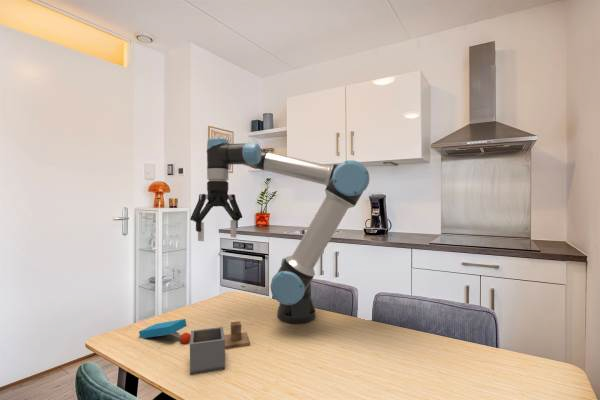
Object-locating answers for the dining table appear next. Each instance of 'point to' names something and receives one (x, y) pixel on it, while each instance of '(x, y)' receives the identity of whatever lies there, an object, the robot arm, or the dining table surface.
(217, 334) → the square storage bin
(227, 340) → the tee
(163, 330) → the lever
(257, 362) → the dining table surface
